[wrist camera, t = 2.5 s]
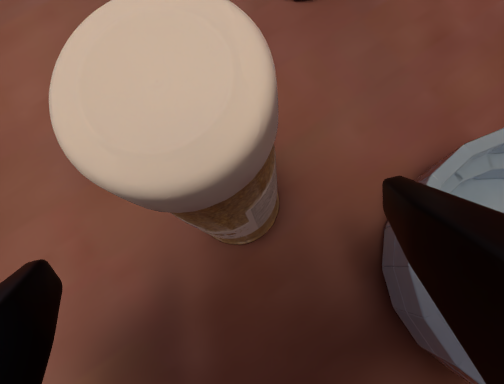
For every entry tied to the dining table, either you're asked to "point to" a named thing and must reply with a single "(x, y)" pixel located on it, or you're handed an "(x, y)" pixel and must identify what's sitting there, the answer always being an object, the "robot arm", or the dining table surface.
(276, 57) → the dining table surface
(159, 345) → the dining table surface
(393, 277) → the bowl
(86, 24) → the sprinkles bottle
